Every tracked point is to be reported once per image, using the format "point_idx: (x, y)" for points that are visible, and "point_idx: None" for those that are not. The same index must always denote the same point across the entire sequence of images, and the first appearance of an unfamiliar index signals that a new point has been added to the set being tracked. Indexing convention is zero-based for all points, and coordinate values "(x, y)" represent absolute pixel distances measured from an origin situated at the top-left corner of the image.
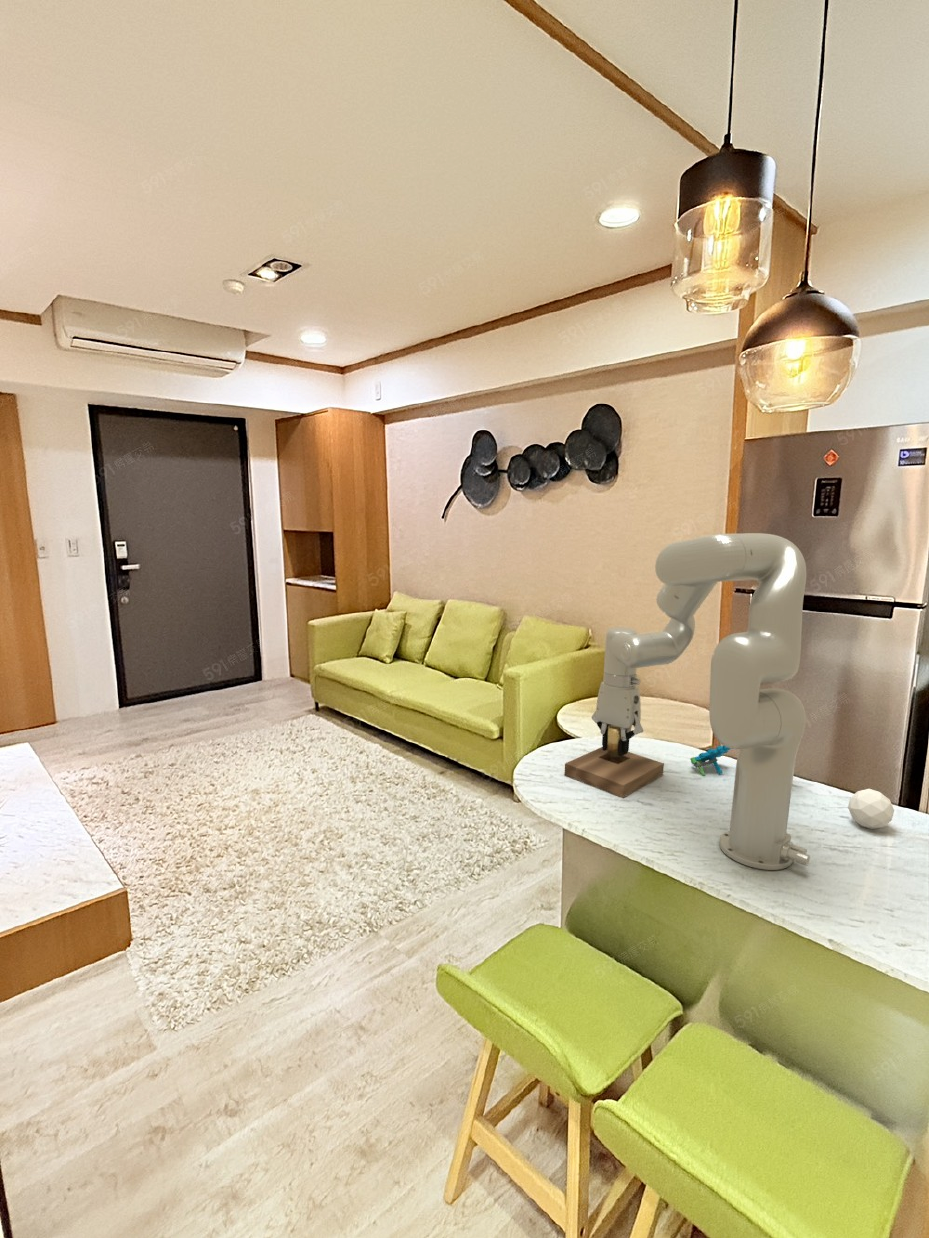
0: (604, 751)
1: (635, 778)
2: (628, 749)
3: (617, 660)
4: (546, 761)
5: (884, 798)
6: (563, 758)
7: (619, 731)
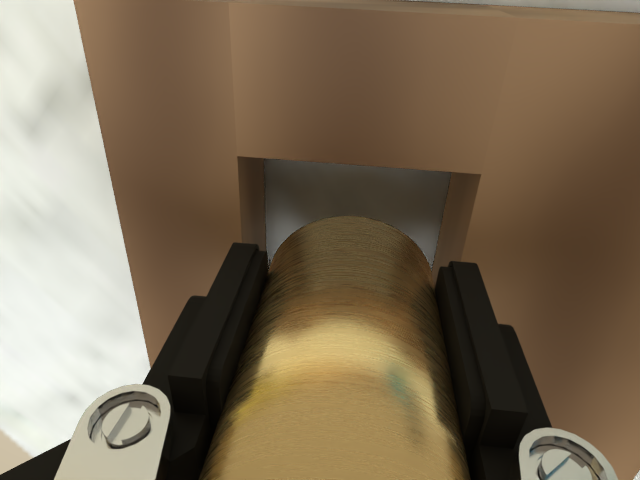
0: (198, 200)
1: (636, 465)
2: (513, 334)
3: None
4: (10, 362)
5: None
6: (14, 275)
7: None
